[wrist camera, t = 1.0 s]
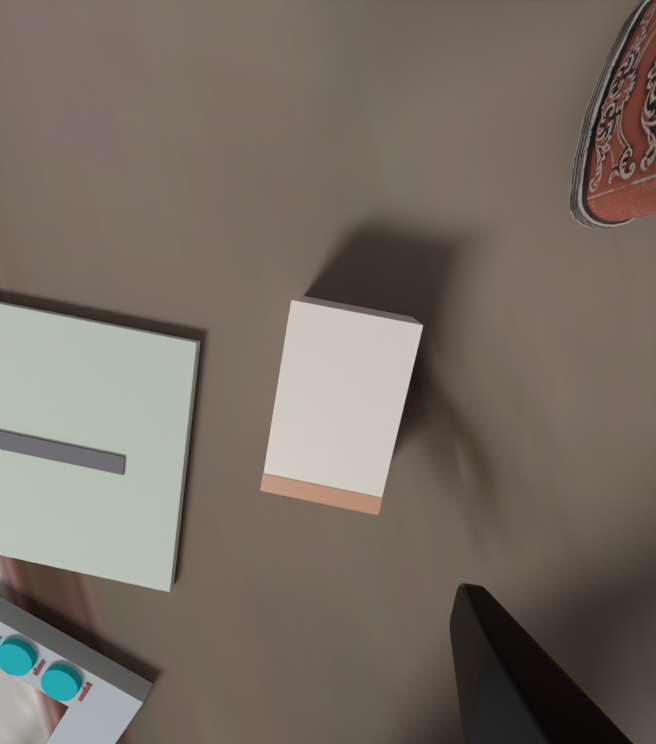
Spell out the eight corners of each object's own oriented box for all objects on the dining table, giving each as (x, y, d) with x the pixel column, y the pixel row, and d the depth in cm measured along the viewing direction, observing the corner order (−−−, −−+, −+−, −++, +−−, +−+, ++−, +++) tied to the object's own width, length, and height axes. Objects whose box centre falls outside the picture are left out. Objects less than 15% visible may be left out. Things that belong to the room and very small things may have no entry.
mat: (200, 340, 20) (195, 343, 19) (173, 585, 23) (168, 593, 22) (-155, 271, 20) (-170, 270, 20) (-131, 518, 24) (-144, 524, 23)
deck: (412, 316, 19) (423, 325, 15) (375, 475, 21) (378, 515, 17) (303, 295, 19) (290, 299, 15) (277, 455, 21) (260, 490, 17)
